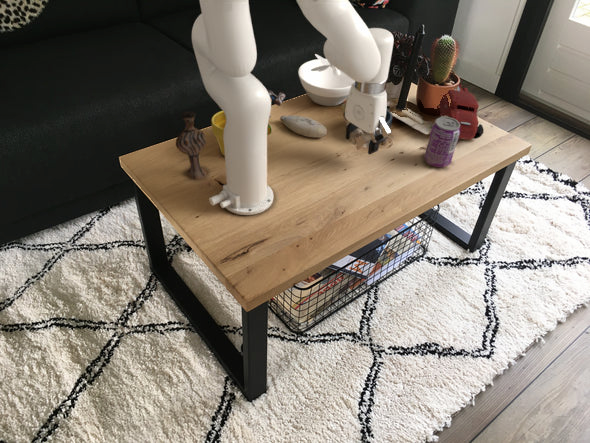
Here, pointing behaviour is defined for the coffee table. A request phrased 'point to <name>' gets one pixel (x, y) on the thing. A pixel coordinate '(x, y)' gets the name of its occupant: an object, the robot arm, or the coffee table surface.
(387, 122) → the dark blue cup
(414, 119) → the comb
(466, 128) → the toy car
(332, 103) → the bowl
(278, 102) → the pirate figurine
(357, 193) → the coffee table surface
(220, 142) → the flower pot
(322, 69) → the fairy figurine
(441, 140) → the beverage can
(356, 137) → the toy character
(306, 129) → the decorative stone
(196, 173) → the brown ridged tall piece
